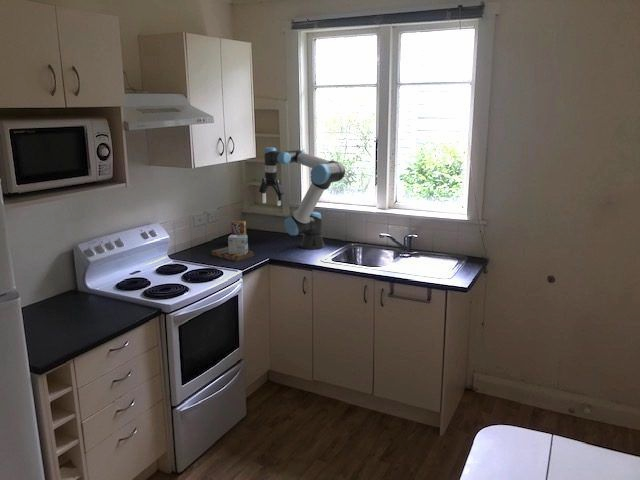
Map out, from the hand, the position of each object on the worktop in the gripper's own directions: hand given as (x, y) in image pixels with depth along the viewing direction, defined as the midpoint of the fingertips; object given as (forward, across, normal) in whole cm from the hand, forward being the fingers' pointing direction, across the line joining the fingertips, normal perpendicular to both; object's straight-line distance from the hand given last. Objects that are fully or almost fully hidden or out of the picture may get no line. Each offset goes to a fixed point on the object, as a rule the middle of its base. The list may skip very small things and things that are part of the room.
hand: (271, 204), depth 363 cm
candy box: (+27, -17, -14) cm, 35 cm away
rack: (+27, +2, -36) cm, 45 cm away
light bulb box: (+24, +8, -36) cm, 44 cm away
